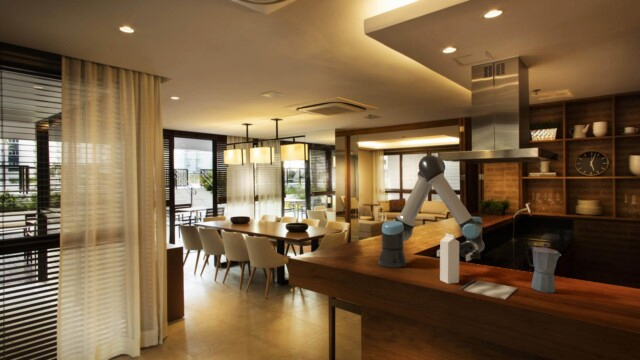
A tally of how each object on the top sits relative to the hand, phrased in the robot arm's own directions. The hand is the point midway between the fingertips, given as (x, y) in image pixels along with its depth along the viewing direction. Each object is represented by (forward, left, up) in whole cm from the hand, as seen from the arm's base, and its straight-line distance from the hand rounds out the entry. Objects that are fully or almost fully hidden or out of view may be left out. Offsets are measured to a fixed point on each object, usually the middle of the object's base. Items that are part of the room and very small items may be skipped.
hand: (451, 255), depth 162 cm
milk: (-1, -1, -12) cm, 12 cm away
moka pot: (+33, +15, -12) cm, 38 cm away
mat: (+16, -1, -12) cm, 20 cm away
